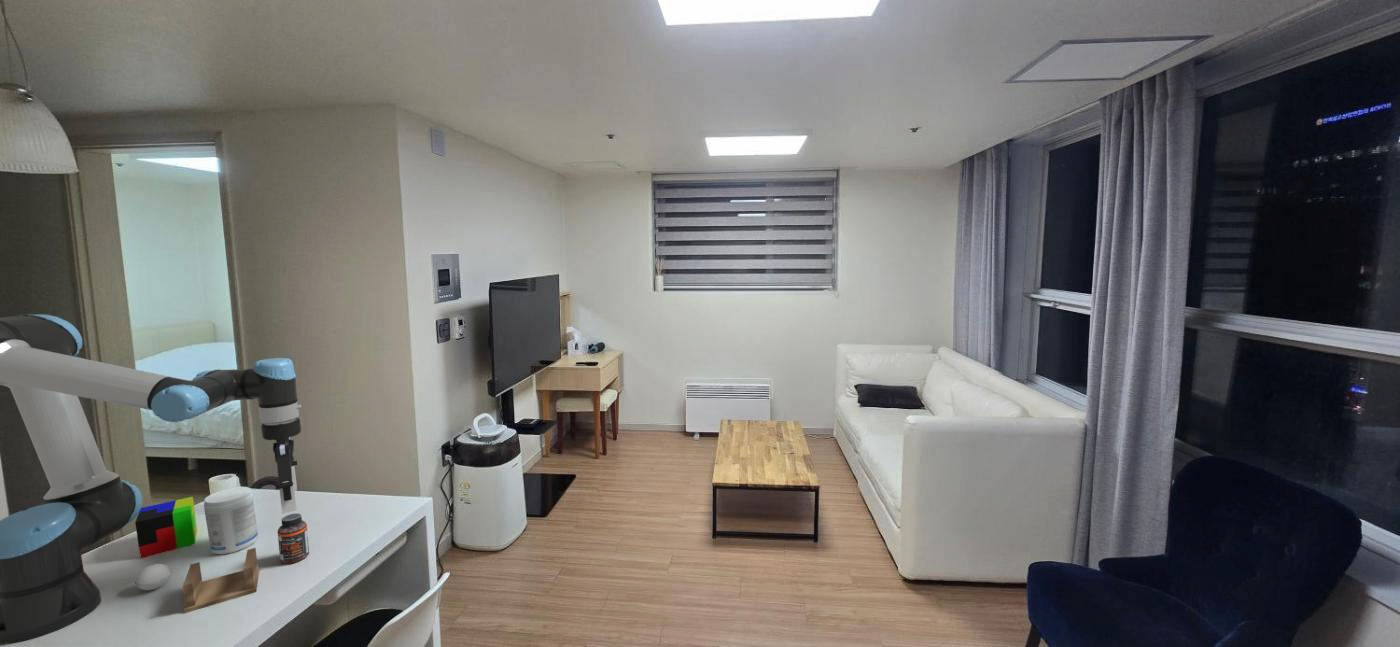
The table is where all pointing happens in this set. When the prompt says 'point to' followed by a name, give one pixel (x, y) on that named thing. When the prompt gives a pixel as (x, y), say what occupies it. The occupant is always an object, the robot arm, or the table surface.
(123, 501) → the robot arm
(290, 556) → the supplement bottle
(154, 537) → the puzzle toy
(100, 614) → the table surface
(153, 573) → the white oval egg shape
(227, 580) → the holder cradle
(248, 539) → the supplement tub
